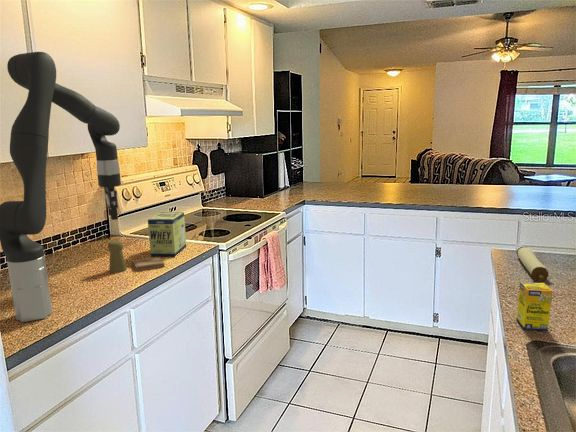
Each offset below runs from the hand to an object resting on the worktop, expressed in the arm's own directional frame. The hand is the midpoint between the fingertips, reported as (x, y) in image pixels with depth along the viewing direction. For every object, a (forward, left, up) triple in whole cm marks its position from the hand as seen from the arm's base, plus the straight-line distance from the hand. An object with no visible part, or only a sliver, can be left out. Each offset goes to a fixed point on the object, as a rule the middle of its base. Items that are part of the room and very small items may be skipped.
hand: (113, 217), depth 164 cm
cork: (0, 0, -20) cm, 20 cm away
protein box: (+15, -22, -20) cm, 33 cm away
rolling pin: (-72, -130, -21) cm, 151 cm away
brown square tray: (0, -11, -20) cm, 23 cm away
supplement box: (-102, -91, -20) cm, 138 cm away
